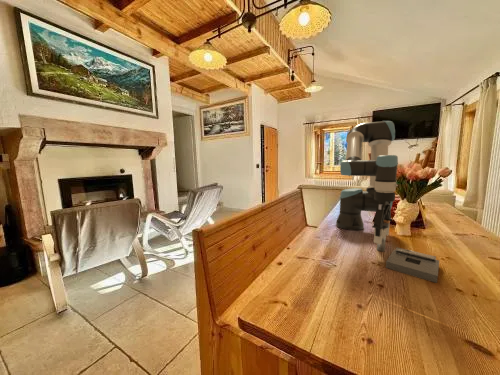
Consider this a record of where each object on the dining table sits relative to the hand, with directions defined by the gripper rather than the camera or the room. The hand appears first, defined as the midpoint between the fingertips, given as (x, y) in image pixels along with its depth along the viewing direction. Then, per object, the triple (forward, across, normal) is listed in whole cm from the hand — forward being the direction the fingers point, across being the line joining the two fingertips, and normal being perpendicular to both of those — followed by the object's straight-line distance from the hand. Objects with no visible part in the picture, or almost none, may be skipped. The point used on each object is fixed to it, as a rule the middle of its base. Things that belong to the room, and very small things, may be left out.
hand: (381, 238), depth 89 cm
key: (+5, 0, 0) cm, 5 cm away
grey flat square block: (+5, -9, -12) cm, 16 cm away
